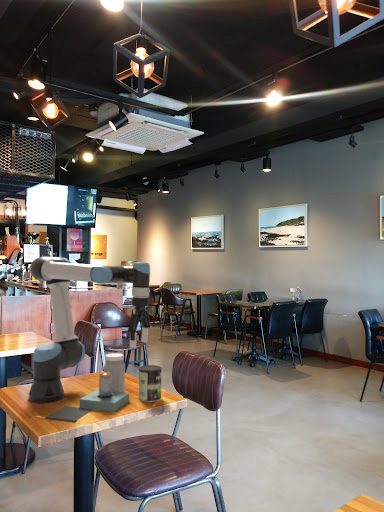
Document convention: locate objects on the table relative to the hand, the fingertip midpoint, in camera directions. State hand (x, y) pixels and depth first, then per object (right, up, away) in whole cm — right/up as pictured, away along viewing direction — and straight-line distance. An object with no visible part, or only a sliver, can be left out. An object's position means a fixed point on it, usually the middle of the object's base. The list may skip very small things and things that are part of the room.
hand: (138, 344), depth 180 cm
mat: (-25, -24, -17) cm, 39 cm away
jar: (-13, -25, +10) cm, 30 cm away
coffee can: (+5, -25, +3) cm, 26 cm away
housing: (-14, -25, -6) cm, 29 cm away
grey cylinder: (-14, -24, -6) cm, 29 cm away
